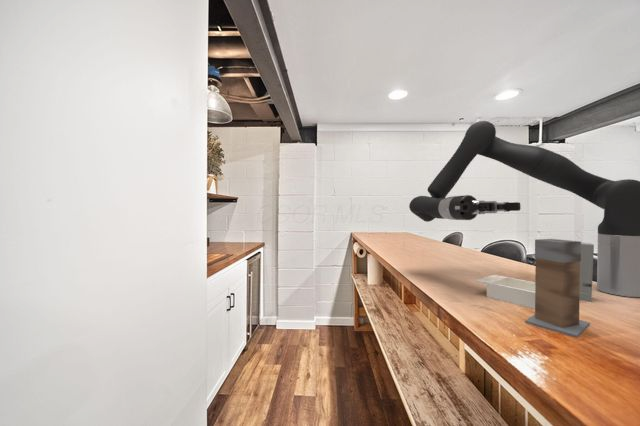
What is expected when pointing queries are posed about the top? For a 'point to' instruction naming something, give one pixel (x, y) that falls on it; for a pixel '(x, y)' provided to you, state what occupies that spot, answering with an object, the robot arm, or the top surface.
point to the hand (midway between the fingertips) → (506, 206)
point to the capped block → (557, 281)
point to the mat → (570, 331)
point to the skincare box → (586, 271)
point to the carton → (510, 290)
